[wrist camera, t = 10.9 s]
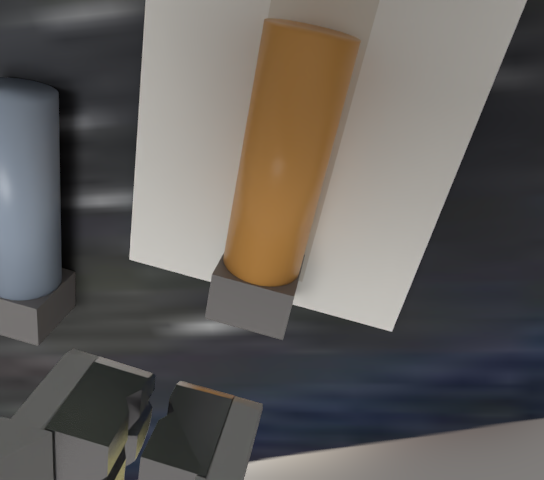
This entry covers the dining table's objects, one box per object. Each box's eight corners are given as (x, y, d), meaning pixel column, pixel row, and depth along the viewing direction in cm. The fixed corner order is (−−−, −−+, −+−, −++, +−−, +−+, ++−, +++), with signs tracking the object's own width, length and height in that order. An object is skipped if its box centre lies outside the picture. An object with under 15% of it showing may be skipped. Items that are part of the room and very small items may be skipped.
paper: (155, -104, 18) (151, -105, 18) (532, -20, 18) (535, -20, 17) (131, 256, 26) (129, 259, 26) (391, 327, 25) (392, 331, 25)
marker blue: (1, 72, 23) (-58, 87, 20) (75, 91, 23) (26, 109, 20) (17, 289, 29) (-27, 327, 26) (75, 305, 29) (38, 345, 26)
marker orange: (272, 15, 19) (252, 22, 16) (363, 36, 19) (360, 48, 16) (226, 276, 25) (204, 318, 22) (294, 294, 25) (282, 339, 22)
